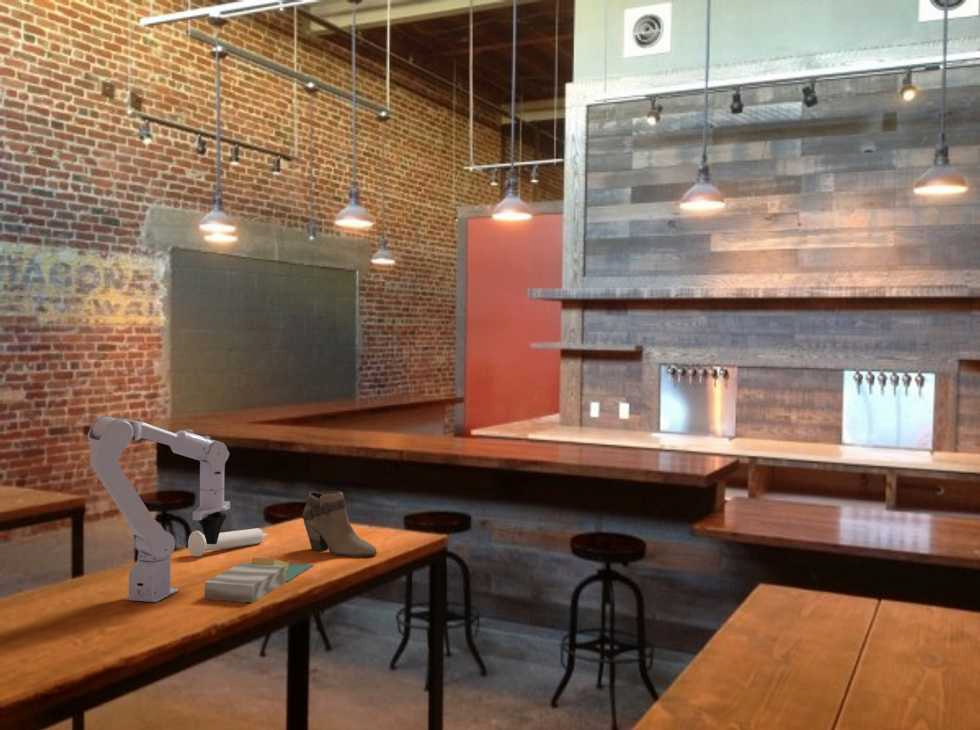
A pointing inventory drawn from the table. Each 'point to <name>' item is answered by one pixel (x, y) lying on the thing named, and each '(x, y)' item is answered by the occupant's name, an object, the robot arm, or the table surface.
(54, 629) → the table surface
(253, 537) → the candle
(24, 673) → the table surface
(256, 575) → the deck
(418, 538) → the table surface
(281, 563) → the yellow rectangular block
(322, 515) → the boot
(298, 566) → the mat
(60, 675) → the table surface
